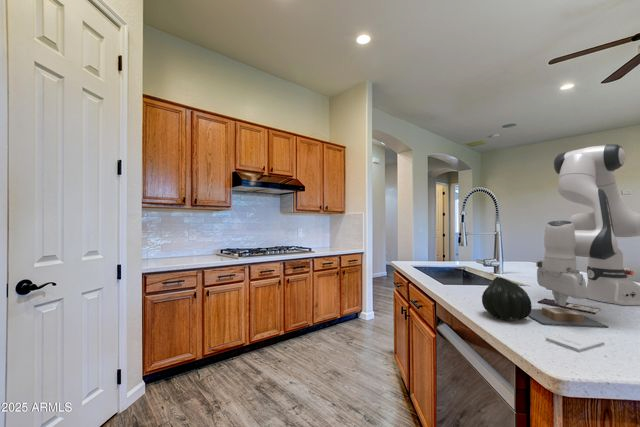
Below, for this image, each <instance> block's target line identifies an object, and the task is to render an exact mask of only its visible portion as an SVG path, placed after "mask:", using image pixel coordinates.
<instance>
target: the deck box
mask: <svg viewBox="0 0 640 427" xmlns="http://www.w3.org/2000/svg"><path fill="white" fill-rule="evenodd" d="M541 309H542V315H544V316H546V317H548V318H550V319H552V320H554V321H564V322H584V316H585V315H584V314H582V313H580V312H579V311H575V310H571V309H565V308H560V307H541Z"/></svg>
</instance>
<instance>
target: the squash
mask: <svg viewBox="0 0 640 427" xmlns="http://www.w3.org/2000/svg"><path fill="white" fill-rule="evenodd" d="M481 303H482V307H483V308H484V309H485V311H486V312H487V313H488V314H490V316H492V317H493V318H496V319H501V320H503V321H509V320H511V319H512V320H523V319H527V318H529V317H528V316H529V314H530V313H531V309H533V308H532V300H531V298H530V296H529V295H528V293H527V292H526V290H525V289H524V288H523V287H521V286H520V285H518V284H517V283H514V282H512V281H510V280H508V279H506V278H503V277H500V276H499V277H498V276H495V277H494V278H493V279H492V281H491V282H490V283H489V285H488V286H487V287H486V288H485V290H484V291H483V293H482V296H481Z"/></svg>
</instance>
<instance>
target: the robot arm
mask: <svg viewBox="0 0 640 427" xmlns="http://www.w3.org/2000/svg"><path fill="white" fill-rule="evenodd" d="M625 161H626V152H625V150H624V149H623V147H622V146H621V145H620V144H617V143H615V144H614V143H610V144H608V143H607V144H605V145H594V146H588V147H584V148H579V149H574V150H570V151H564V152H562V153H558V154H557V156H555V158H554V161H553V169H554V171H555V173H556V174H558V181H557V191H558V193H559V195H560V196H561V197H562V198H563V199H565V200H567V201H569V202H572V203H575V204H579V205H583V206H586V207H589V208H591V209H593V212H588V211H587V212H581V213H579V212H578V213H575V214H572V215H571V216H570V217H569V218H568V220H552V221H549V222H547V223H546V224H545V225H546V226H545V229H544V238H543V245H544V249H545V252H544V255H543V256H544V257H543V259H542V260H537V261H536V262H535V263H536V264H535V266H536V268H537V269H536V280H537V281H536V282H537V284H538V285H539V286H540V287H542V288H545V289H547V290H551V293H552V295H553V297H554V300H555V303H556V304H558V305H561V306H565V305H566V302H567V300H568V298H569V297H570V298H572V299H574V300H575V299H578V300H585V299H590V300H593V301H598V302H603V303H609V304H615V305H618V306H619V305H620V306H640V284H638V283H636V282H634V281H633V280H631V279H630V278H629V276H633V275H635V271H634V270H629V269H628V270H625V269H624V261H623V260H624V254H623V252H622V250H621V249H620V248H619V244H618V240H617V238H633V237H634V238H635V237H640V213H639V212H636V211H634V210H633V209H631V208H630V207H628V206H627V205H626V204H625V203H624V202H623V201H622V199H621V197H620V194H619V190H618V186H617V180H616V175H615V174H616V173H615V171H616V170H618V169H620V168H621V167H623V166H624V163H625ZM577 257H583V258H587V260H588V262H587V264H588V265H587V267H586V276H587V281H586V278H585V277H584V275H583V274H582V272H581V271H580V270H579V269H577ZM586 282H587V283H586Z"/></svg>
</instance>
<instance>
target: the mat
mask: <svg viewBox="0 0 640 427" xmlns="http://www.w3.org/2000/svg"><path fill="white" fill-rule="evenodd" d="M527 318H530V319H532V320H533V321H535V322H537V323H538V324H540V325H542V326H557V327H558V326H560V327H581V328H597V329H599V328H601V329H602V328H603V329H609V325H607V324H605V323H602V322H600V321H597V320H596V319H593V318H590V317H588V316H585V315H584V322H564V321H554V320H552V319H550V318H548V317H546V316H544V315H542V308H541V309H536V308H531V313H530V314H529V316H528V317H527Z"/></svg>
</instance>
